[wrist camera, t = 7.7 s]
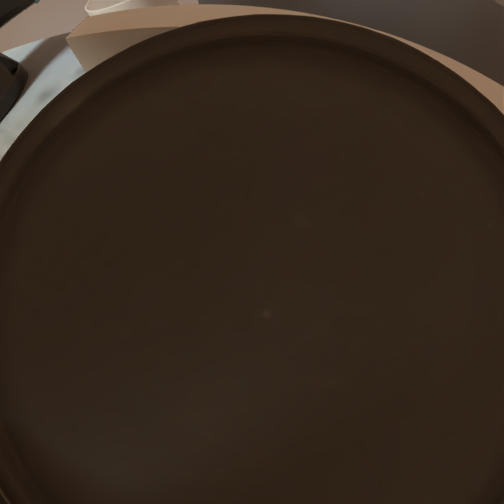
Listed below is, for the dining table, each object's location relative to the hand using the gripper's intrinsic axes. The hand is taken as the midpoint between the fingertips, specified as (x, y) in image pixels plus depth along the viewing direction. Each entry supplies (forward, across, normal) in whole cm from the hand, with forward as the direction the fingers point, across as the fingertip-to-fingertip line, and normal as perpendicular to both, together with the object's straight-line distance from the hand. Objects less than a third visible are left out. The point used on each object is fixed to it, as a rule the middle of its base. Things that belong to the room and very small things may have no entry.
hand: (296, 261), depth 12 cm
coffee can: (+2, 0, -6) cm, 6 cm away
